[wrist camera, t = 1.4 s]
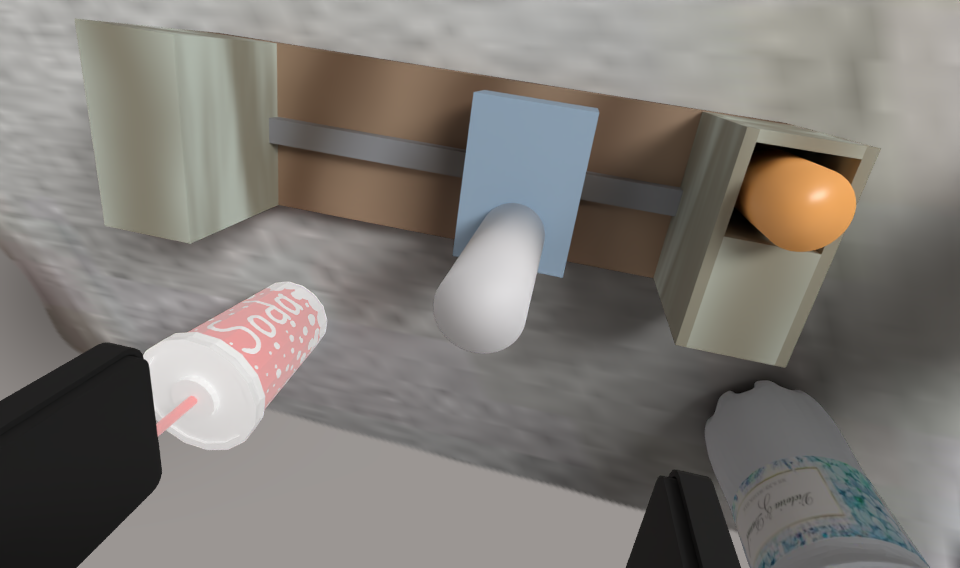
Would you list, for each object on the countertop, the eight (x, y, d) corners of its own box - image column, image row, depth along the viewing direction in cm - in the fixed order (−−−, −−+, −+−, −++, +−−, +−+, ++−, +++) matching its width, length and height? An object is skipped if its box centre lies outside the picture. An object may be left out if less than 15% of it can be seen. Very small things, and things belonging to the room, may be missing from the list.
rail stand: (785, 123, 24) (881, 148, 16) (728, 283, 27) (785, 368, 20) (211, 31, 27) (63, 16, 20) (219, 184, 30) (95, 223, 23)
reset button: (816, 155, 19) (871, 175, 15) (789, 224, 20) (834, 259, 16) (741, 143, 19) (778, 160, 16) (718, 211, 20) (748, 243, 17)
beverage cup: (358, 323, 32) (210, 490, 19) (299, 375, 35) (132, 554, 22) (285, 249, 31) (78, 373, 18) (228, 308, 34) (11, 454, 21)
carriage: (597, 108, 23) (607, 136, 13) (564, 259, 26) (552, 372, 16) (484, 90, 23) (414, 103, 14) (464, 239, 26) (394, 338, 17)
